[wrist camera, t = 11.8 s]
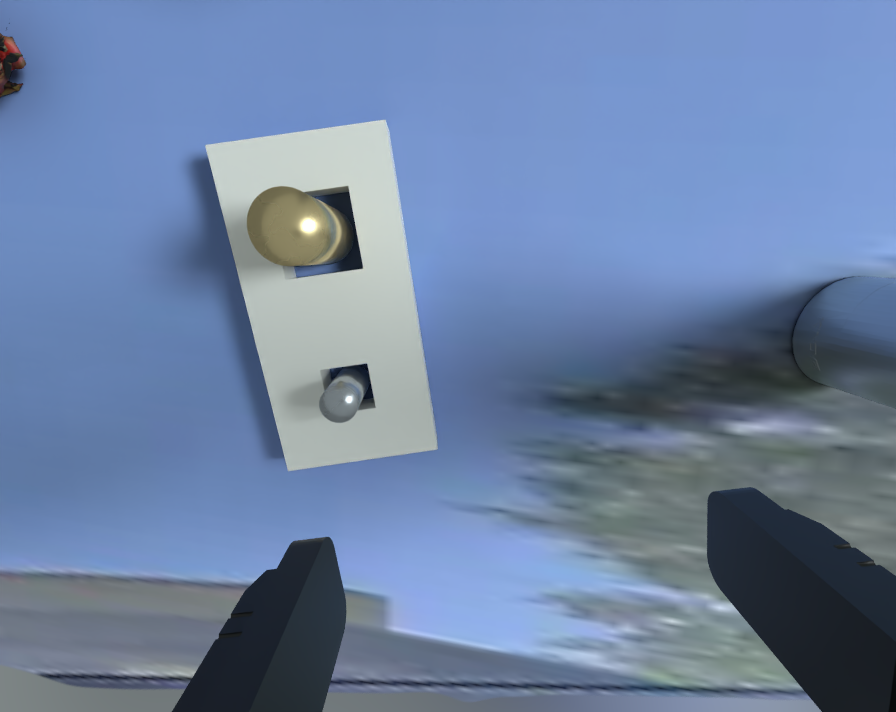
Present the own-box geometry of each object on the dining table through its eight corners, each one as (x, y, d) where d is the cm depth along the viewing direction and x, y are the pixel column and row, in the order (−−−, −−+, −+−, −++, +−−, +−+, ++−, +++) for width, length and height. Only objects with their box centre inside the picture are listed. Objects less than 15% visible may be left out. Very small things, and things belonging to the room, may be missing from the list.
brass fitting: (348, 202, 31) (315, 180, 23) (358, 259, 32) (331, 260, 24) (292, 210, 31) (238, 191, 23) (304, 267, 32) (257, 271, 23)
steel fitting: (367, 362, 34) (353, 384, 28) (372, 392, 35) (360, 420, 29) (335, 366, 34) (315, 389, 28) (341, 396, 35) (323, 425, 29)
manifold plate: (389, 130, 30) (385, 119, 28) (436, 436, 36) (437, 449, 34) (223, 153, 30) (205, 145, 28) (297, 456, 36) (288, 471, 33)
